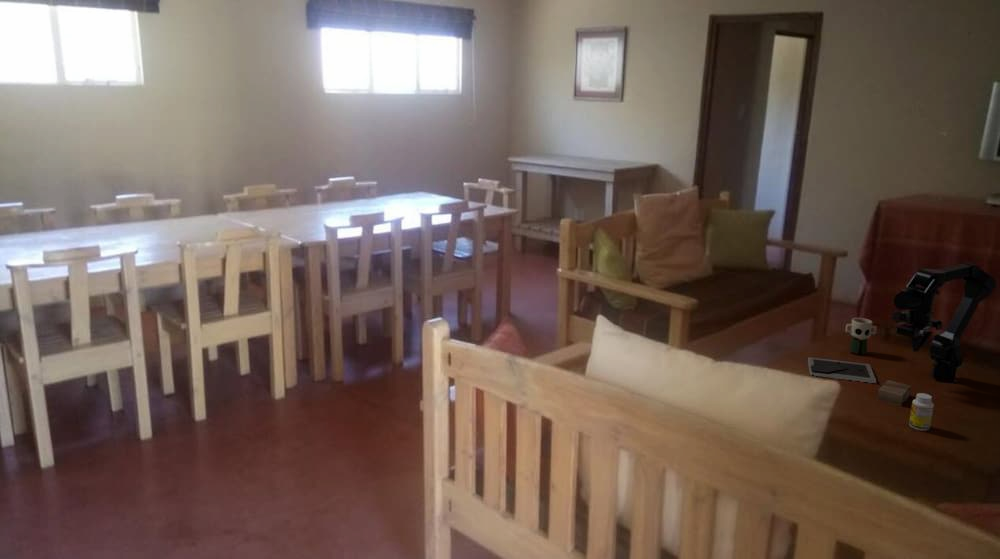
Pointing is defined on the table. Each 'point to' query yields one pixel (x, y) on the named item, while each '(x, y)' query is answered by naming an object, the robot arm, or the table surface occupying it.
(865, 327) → the character mug
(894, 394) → the streaky grey slab
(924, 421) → the supplement bottle
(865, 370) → the picture frame
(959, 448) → the table surface
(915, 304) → the robot arm
